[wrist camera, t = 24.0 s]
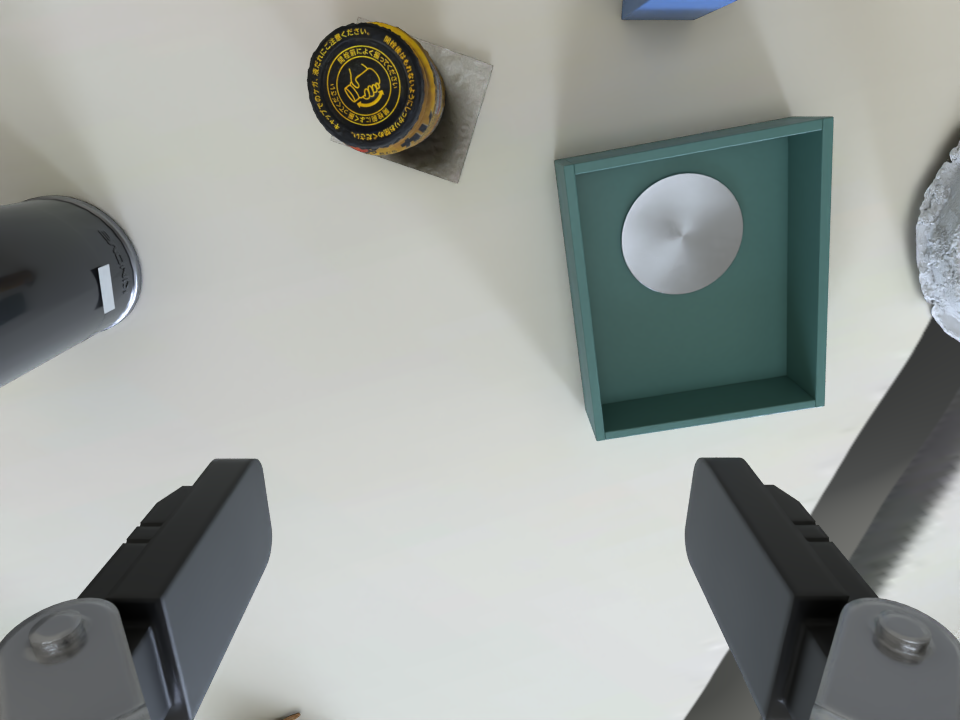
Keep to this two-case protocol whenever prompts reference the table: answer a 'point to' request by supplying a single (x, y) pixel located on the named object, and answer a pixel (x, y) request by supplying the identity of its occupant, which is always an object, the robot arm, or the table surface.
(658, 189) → the plate
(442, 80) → the condiment
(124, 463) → the table surface
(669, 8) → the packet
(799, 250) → the tray
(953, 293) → the food container
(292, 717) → the place setting
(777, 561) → the robot arm
